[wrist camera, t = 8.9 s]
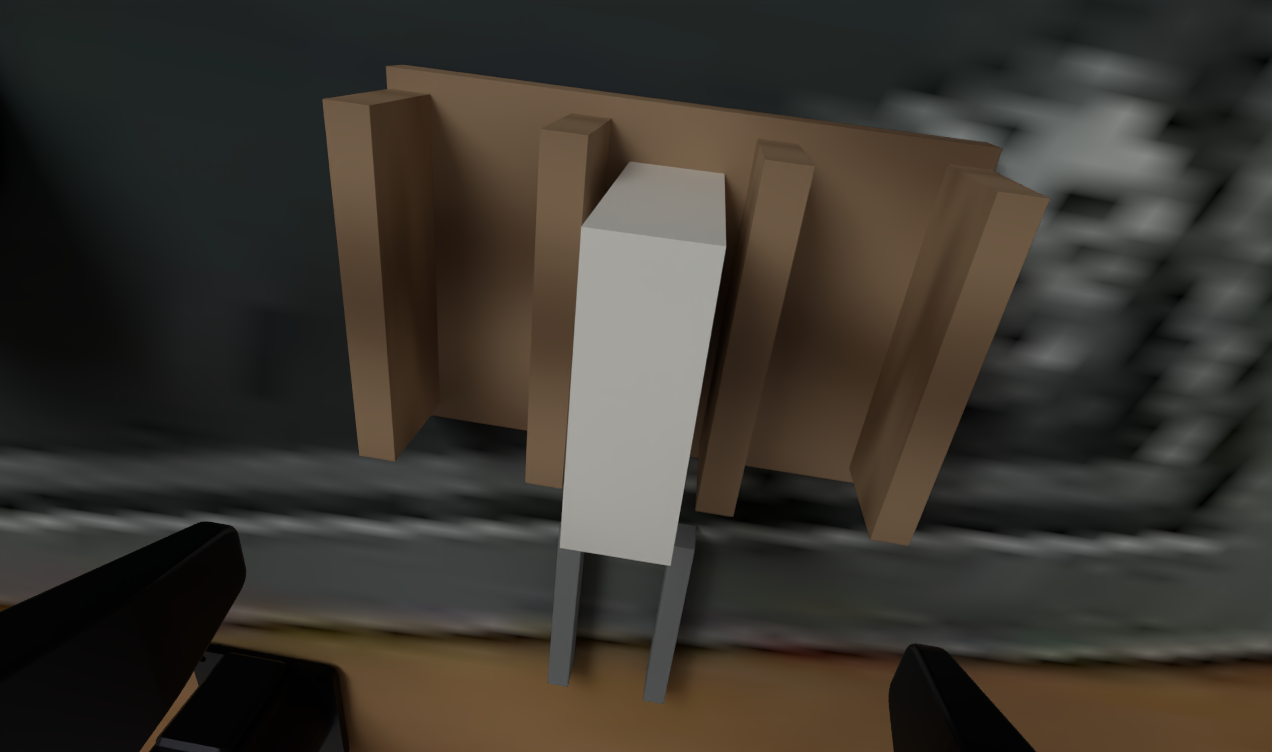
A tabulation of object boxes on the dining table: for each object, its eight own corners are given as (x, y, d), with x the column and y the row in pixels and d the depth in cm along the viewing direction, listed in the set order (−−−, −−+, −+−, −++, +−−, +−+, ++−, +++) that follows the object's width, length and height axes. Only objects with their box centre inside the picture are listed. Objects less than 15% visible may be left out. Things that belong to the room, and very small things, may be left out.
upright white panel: (685, 411, 20) (670, 565, 14) (606, 400, 20) (559, 547, 14) (724, 173, 16) (726, 246, 11) (630, 161, 17) (581, 226, 11)
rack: (873, 468, 21) (906, 560, 17) (419, 396, 22) (357, 469, 18) (987, 142, 16) (1066, 173, 13) (403, 64, 17) (314, 72, 13)
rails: (665, 677, 27) (663, 704, 26) (554, 657, 27) (547, 683, 26) (696, 526, 23) (694, 549, 22) (566, 504, 23) (559, 526, 22)
